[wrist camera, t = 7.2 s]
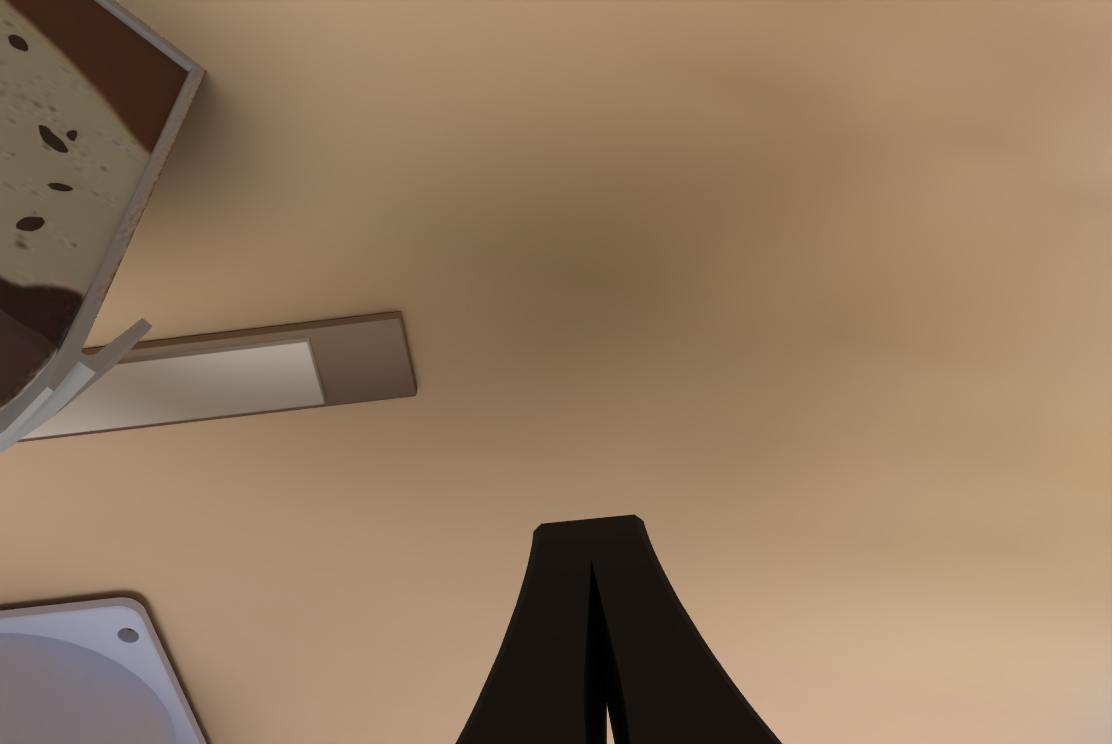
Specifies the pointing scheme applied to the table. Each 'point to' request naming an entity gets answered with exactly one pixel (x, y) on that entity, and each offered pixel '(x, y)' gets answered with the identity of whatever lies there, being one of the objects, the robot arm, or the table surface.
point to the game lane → (243, 375)
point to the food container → (74, 186)
